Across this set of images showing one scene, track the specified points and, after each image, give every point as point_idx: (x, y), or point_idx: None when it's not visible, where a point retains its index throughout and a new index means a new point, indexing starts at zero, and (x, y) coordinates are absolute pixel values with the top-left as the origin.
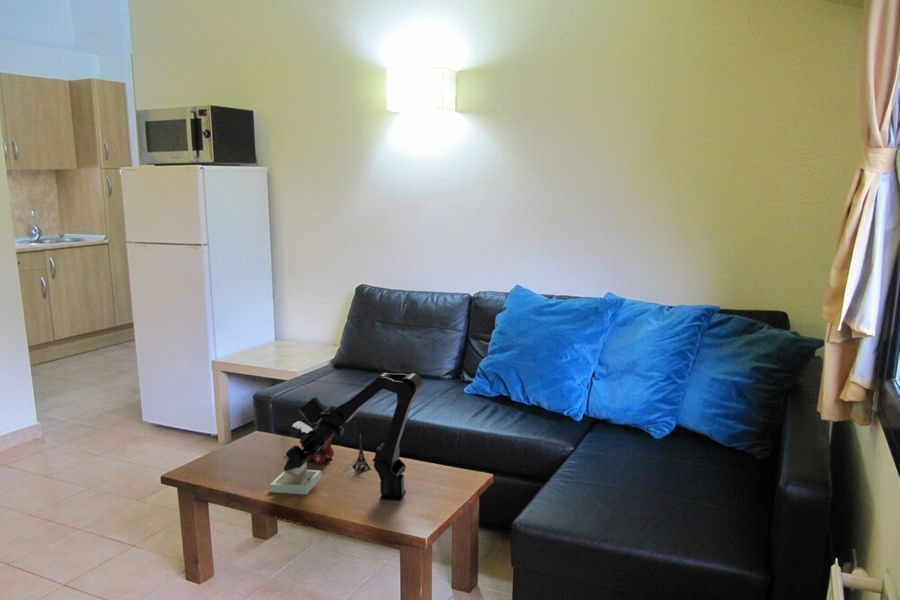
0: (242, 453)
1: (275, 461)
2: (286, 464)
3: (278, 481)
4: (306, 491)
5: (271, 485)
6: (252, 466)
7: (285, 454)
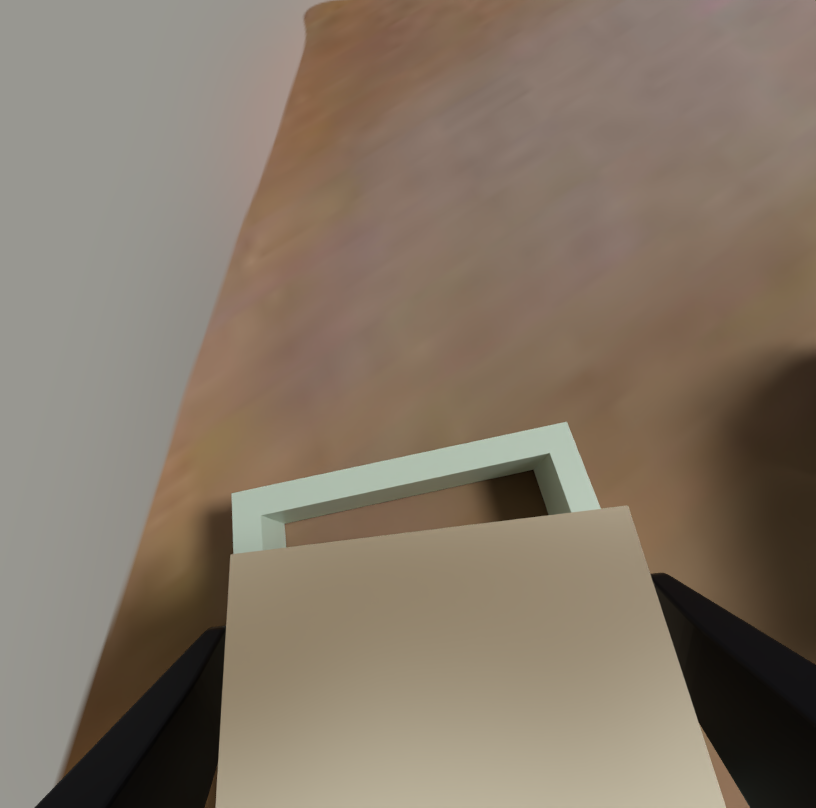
0: (659, 58)
1: (691, 236)
2: (99, 753)
3: (347, 500)
4: None
5: (236, 507)
6: (555, 178)
7: (262, 590)
